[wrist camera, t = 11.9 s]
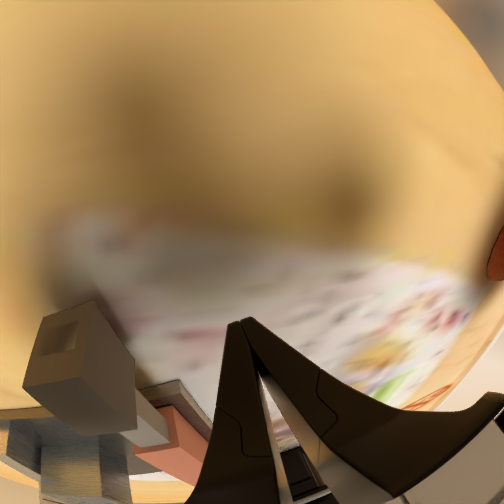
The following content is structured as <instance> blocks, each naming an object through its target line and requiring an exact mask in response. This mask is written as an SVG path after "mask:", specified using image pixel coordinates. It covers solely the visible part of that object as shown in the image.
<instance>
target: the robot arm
mask: <svg viewBox="0 0 504 504" xmlns="http://www.w3.org/2000/svg"><path fill="white" fill-rule="evenodd" d="M258 372H259V373H258ZM259 375H260V376H259ZM260 377H261V379H262V381H263V383H264V384H265V386H266V388H267V390H268V391H269V393H270V395H271V397H272V398H273V400H274V402H275V403H276V405H277V407H278V408H279V410H280V412H281V414H282V415H283V417H284V419H285V420H286V422H287V424H288V425H289V427H290V428H291V430H292V432H293V433H294V435H295V437H296V438H297V440H298V441H299V443H300V445H301V446H302V447H299V448H297V449H294V450H292V451H289V452H286V453H284V454H281V455H280V452H279V449H278V445H277V441H276V437H275V433H274V430H273V426H272V422H271V418H270V414H269V410H268V406H267V402H266V398H265V394H264V390H263V386H262V382H261V379H260ZM503 407H504V394H501V393H496V392H487V393H485V394H484V395H483V396H482V397H481V398H480V399H479V400H478V401H477V402H476V403H475V404H474V405H473V406H471V407H470V408H467V409H465V410H462V411H455V412H433V411H410V410H401V409H397V408H394V407H391V406H389V405H386V404H384V403H382V402H380V401H378V400H376V399H374V398H372V397H369V396H367V395H365V394H363V393H361V392H359V391H357V390H355V389H353V388H352V387H350V386H348V385H346V384H344V383H342V382H341V381H339V380H338V379H336V378H335V377H333V376H332V375H330V374H329V373H327V372H326V371H324V370H323V369H320V367H319V366H317V365H316V364H314V363H313V362H312V361H310V360H309V359H308V358H306V357H305V356H303V355H302V354H301V353H299V352H298V351H297V350H295V349H294V348H293V347H291V346H290V345H288V344H287V343H286V342H284V341H283V340H282V339H280V338H279V337H278V336H276V335H275V334H274V333H273V332H271V331H270V330H269V329H267V328H266V327H265V326H263V325H262V324H261V323H259V322H258V321H257V320H256V319H254V318H253V317H247V318H244V319H241V320H240V321H235V322H232V323H229V324H228V326H227V331H226V338H225V345H224V352H223V358H222V365H221V372H220V379H219V386H218V393H217V401H216V408H215V414H214V421H213V426H212V432H211V436H210V440H209V444H208V447H207V451H206V454H205V458H204V461H203V464H202V468H201V471H200V474H199V478H198V481H197V483H196V486H195V488H194V490H193V492H192V494H191V495H190V497H189V498H188V499H187V501H186V502H185V503H184V504H297V503H300V502H303V501H305V500H308V499H310V498H313V497H315V496H318V495H320V494H322V493H325V492H327V491H331V492H332V493H329V494H327V495H325V496H323V497H320V498H318V499H315V500H313V501H310V502H308V503H305V504H504V409H503ZM501 409H503V410H502V411H501ZM500 411H501V412H500ZM499 412H500V413H499ZM498 413H499V415H498V416H497V417H496V418H495V419H494V417H495V416H496V415H497V414H498Z"/></svg>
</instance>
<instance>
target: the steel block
mask: <svg viewBox="0 0 504 504" xmlns="http://www.w3.org/2000/svg"><path fill="white" fill-rule="evenodd" d="M41 493H43V494H45V495H48V496H50V497H53V498H55V499H57V500H60V501H63V502H65V503H68V504H133V502H132V496H131V490H130V483H129V475H128V467H127V460H125V459H124V458H122V457H120V456H118V455H117V454H115V453H113V452H112V451H110V450H109V449H107V448H105V447H104V446H102V445H101V444H99V443H93V444H81V445H62V446H42V450H41Z"/></svg>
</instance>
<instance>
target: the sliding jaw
mask: <svg viewBox="0 0 504 504" xmlns="http://www.w3.org/2000/svg"><path fill="white" fill-rule="evenodd" d="M22 388H23V389H24V390H25V391H26V392H27V393H28V394H30V395H31V396H32V397H33V398H34V399H35V400H36V401H37V402H39V403H40V404H41V405H42V406H43V407H44V408H46V409H47V410H48V411H49V412H50V413H52V414H53V415H54V416H55V417H57V418H58V419H59V420H61V421H62V422H63V423H64V424H66V425H67V426H68V427H70V428H71V429H73V430H74V431H75V432H77V433H78V434H80V435H81V436H82V437H84V436H94V435H103V434H110V433H117V432H119V433H120V434H122V435H123V436H124V437H126V438H127V439H129V440H130V441H131V442H133V446H134V455H136V456H138V457H139V458H141V459H143V460H144V461H146V462H148V463H149V464H151V465H153V466H155V467H157V468H158V469H160V470H162V471H164V472H166V473H168V474H170V475H172V476H174V477H176V478H178V479H180V480H182V481H184V482H186V483H188V484H190V485H192V486H196V483H197V481H198V478H199V474H200V471H201V468H202V464H203V461H204V458H205V454H206V451H207V447H208V444H209V443H208V442H207V441H206V440H205V439H204V438H203V437H202V436H201V435H200V434H199V433H198V432H197V431H196V430H195V429H194V428H193V427H192V426H191V425H190V424H189V423H188V422H187V421H186V420H185V418H184V417H183V416H182V415H181V414H180V413H179V412H178V411H177V410H176V409H175V408H174V407H173V405H172V406H168V407H163V408H159V409H155V408H154V407H153V406H152V405H151V404H150V403H149V402H148V401H147V400H146V399H145V398H144V397H143V395H142V394H141V393H140V392H139V391H138V390H137V389H136V388H135V365H134V358H133V357H132V355H131V354H130V353H129V351H128V350H127V349H126V347H125V346H124V345H123V343H122V342H121V340H120V339H119V338H118V336H117V335H116V333H115V332H114V330H113V329H112V327H111V326H110V324H109V323H108V322H107V320H106V318H105V317H104V315H103V314H102V312H101V311H100V309H99V308H98V306H97V304H96V303H95V301H91V302H88V303H85V304H82V305H79V306H76V307H73V308H70V309H67V310H64V311H61V312H58V313H55V314H52V315H49V316H46V317H43V319H42V322H41V325H40V328H39V331H38V334H37V337H36V340H35V343H34V346H33V349H32V352H31V356H30V359H29V363H28V366H27V370H26V374H25V378H24V382H23V386H22Z"/></svg>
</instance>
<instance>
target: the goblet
mask: <svg viewBox="0 0 504 504" xmlns="http://www.w3.org/2000/svg"><path fill="white" fill-rule="evenodd" d="M487 277H488V279H490V280H497V281H502V280H504V227H503V229H502V231H501V232H500V235H499V237H498V239H497V241H496V243H495V246H494V248H493V250H492V253H491V256H490V259H489V262H488V266H487Z"/></svg>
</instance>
